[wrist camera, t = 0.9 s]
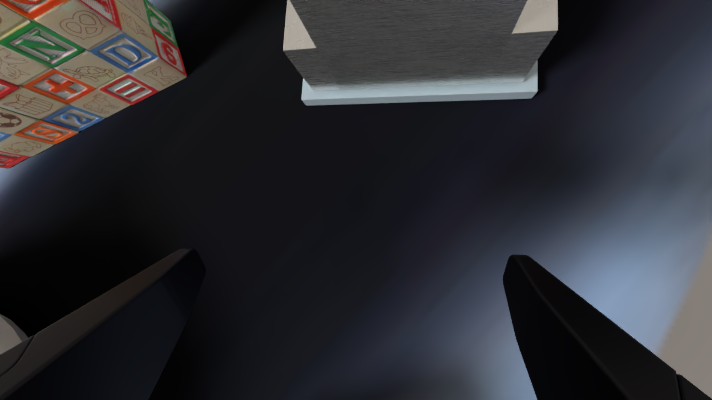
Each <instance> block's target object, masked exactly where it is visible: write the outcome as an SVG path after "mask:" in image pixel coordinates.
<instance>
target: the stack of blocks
mask: <svg viewBox="0 0 712 400" xmlns="http://www.w3.org/2000/svg"><path fill="white" fill-rule="evenodd" d="M186 77H187V75H186V71H185V68H184V64H183V61H182V57H181V54H180V51H179V48H178V46H177V42H176V38H175V35H174V31H173V28H172V24H171V21H170V20H169V19H168V18H167V17H166V16H165V15H164V14H162V13H161V12H160V11H159V10H158V9H157V8H156V7H155V6H153V5H152V4H151V3H150V2H149V1H148V0H0V168H10V167H11V166H13V165H15V164H17V163H19V162H21V161H23V160H25V159H26V158H28V157H30V156H34V155H36V154H38V153H40V152H42V151H44V150H46V149H48V148H50V147H52V146H53V145H54V144H57V143H60V142H62V141H63V140H65V139H67V138H70V137H72V136H73V135H75V134H77V133H79V131H82V130H84V129H86V128H88V127H90V126H91V125H93V124H95V123H97V122H99V121H101V120H103V119H104V118H106V117H108V116H110V115H112V114H114V113H116V112H118V111H120V110H122V109H124V108H126V107H128V106H130V105H133V104H135V103H137V102H139V101H141V100H143V99H145V98H147V97H149V96H151V95H153V94H155V93H156V92H158V91H160V90H163V89H165V88H167V87H169V86H171V85H173V84H175V83H176V82H178V81H180V80H182V79H184V78H186Z"/></svg>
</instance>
